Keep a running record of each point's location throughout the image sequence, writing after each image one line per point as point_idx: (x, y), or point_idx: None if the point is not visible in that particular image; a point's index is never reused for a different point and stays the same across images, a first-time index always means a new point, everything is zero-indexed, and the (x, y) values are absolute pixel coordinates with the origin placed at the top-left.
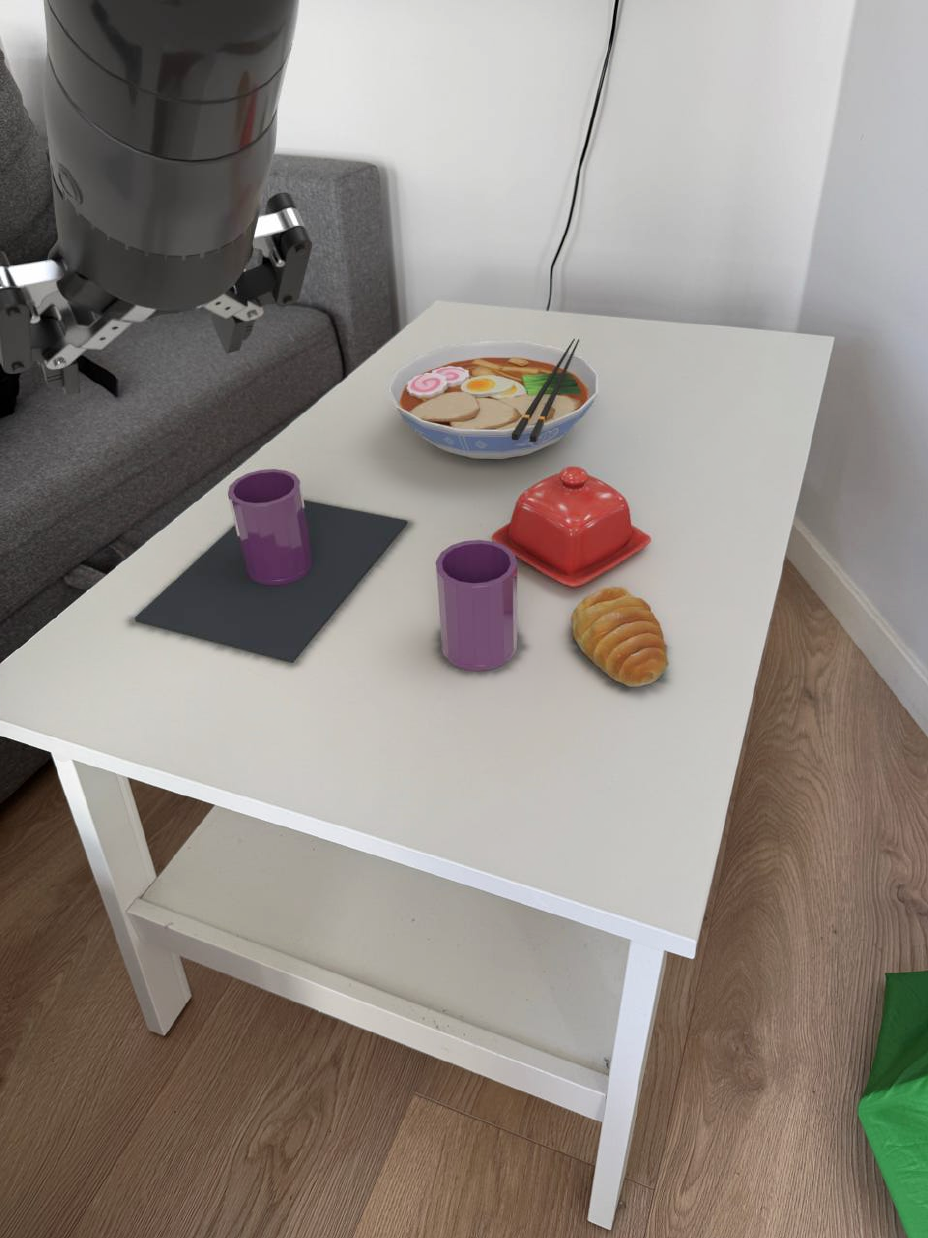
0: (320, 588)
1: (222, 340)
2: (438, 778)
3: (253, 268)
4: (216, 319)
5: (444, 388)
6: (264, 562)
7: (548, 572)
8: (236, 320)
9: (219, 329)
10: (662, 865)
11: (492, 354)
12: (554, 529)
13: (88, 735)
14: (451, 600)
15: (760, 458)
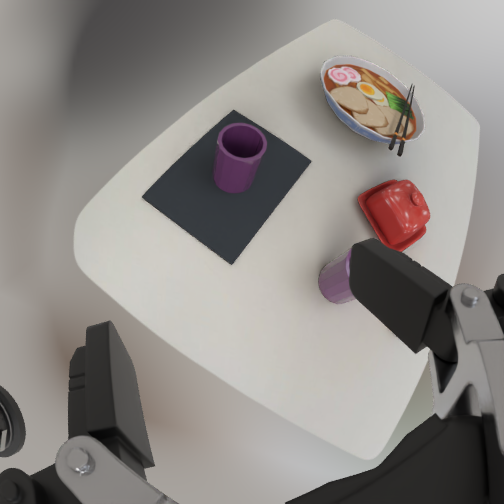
0: (255, 204)
1: (356, 280)
2: (300, 377)
3: (498, 320)
4: (369, 265)
5: (348, 82)
6: (227, 182)
7: (382, 240)
8: (419, 349)
9: (363, 274)
10: (377, 436)
11: (371, 69)
12: (397, 224)
13: (111, 290)
14: (345, 285)
15: (463, 186)
